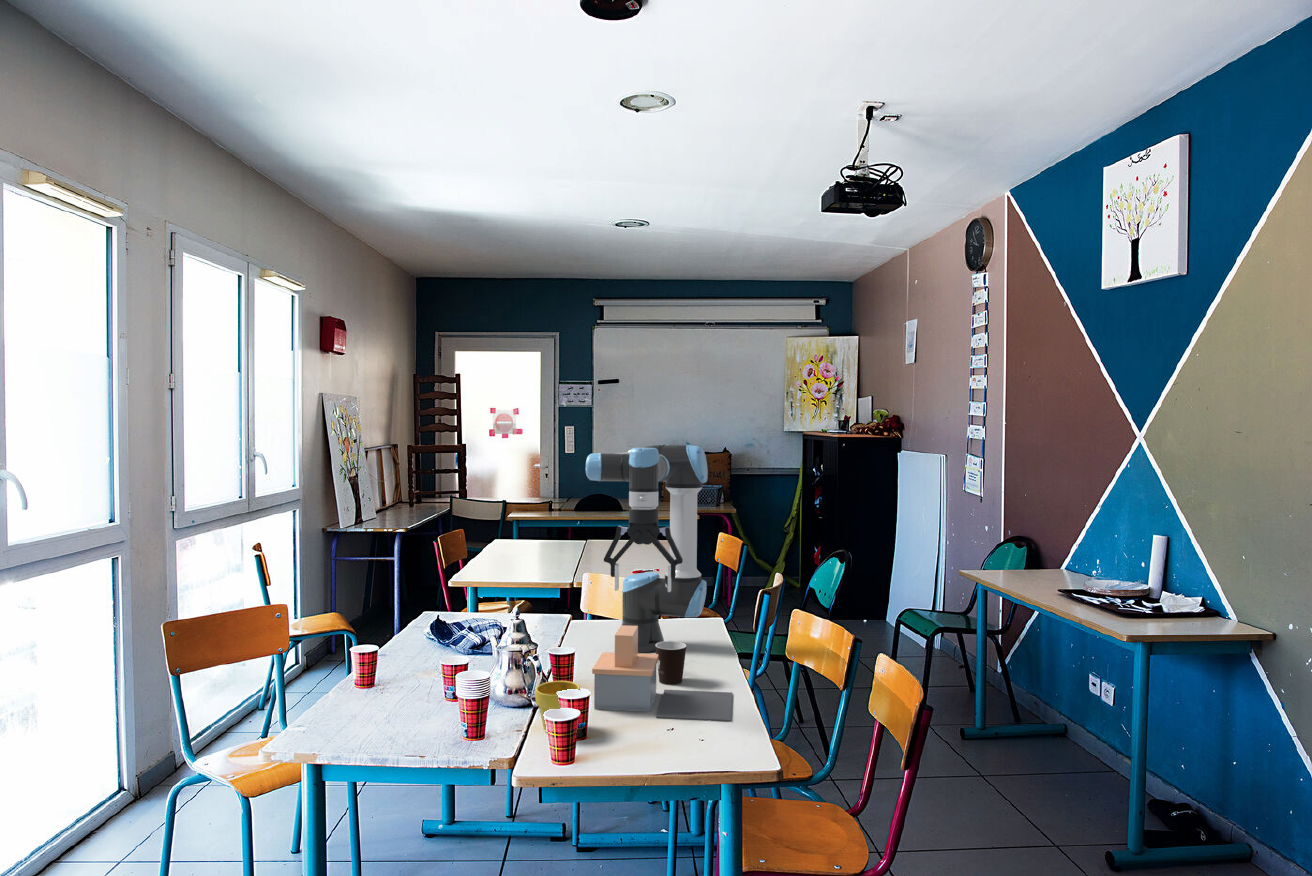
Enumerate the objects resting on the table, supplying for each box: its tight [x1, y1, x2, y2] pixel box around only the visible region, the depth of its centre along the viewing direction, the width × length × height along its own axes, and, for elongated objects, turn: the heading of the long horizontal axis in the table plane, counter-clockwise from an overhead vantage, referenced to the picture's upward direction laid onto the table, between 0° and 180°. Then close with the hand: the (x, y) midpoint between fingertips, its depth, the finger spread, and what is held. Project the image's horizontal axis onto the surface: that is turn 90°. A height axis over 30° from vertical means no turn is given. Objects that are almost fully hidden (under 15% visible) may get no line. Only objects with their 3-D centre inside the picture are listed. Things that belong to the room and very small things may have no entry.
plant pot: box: [535, 680, 581, 730], centre depth 187 cm, size 10×10×10 cm
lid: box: [591, 624, 659, 676], centre depth 206 cm, size 15×15×11 cm
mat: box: [655, 689, 733, 722], centre depth 204 cm, size 20×18×1 cm
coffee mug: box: [655, 640, 687, 686], centre depth 224 cm, size 12×9×10 cm
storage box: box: [593, 666, 657, 713], centre depth 206 cm, size 14×14×9 cm
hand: (643, 590), depth 206 cm, fingers open, 13 cm apart
